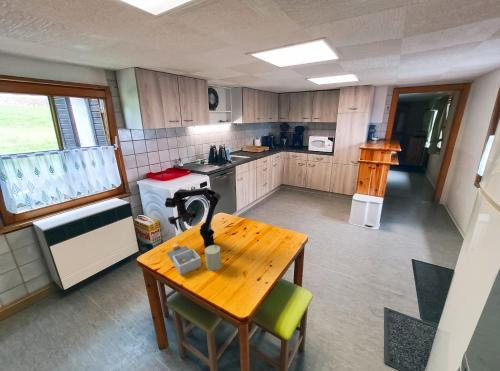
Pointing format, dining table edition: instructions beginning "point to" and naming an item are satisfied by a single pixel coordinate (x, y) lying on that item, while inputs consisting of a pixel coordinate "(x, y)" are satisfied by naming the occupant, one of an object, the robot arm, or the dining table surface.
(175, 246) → the lid
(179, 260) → the tub
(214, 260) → the can
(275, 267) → the dining table surface
